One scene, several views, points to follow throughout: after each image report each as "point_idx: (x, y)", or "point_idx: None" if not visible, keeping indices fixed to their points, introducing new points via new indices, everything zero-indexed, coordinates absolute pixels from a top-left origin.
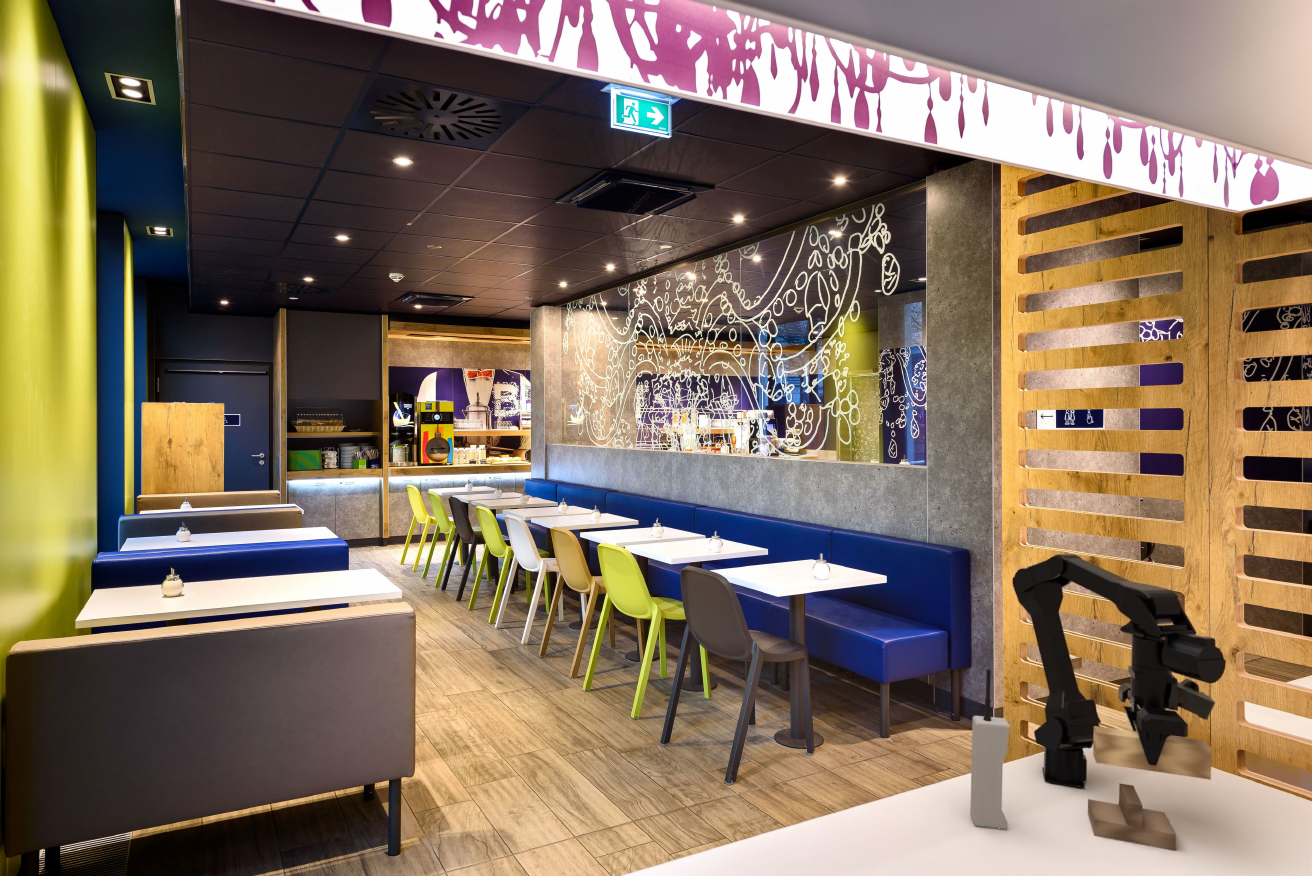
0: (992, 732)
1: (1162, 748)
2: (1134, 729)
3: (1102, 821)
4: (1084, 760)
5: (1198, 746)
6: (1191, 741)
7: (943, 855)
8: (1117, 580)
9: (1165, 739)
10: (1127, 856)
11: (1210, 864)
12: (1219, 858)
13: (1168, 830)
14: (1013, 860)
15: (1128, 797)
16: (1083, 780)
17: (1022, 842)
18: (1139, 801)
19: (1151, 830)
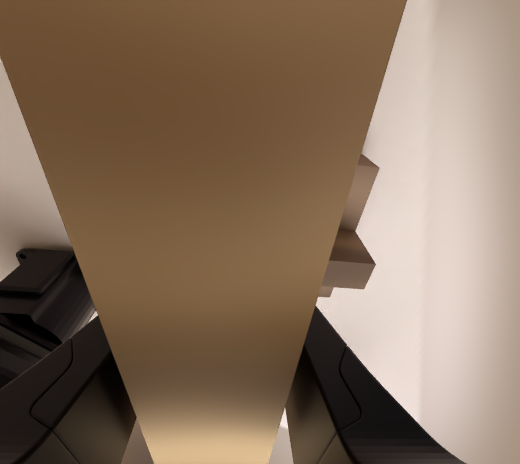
0: None
1: (345, 343)
2: (126, 442)
3: (333, 287)
4: (42, 292)
5: (383, 77)
6: (166, 107)
7: (399, 399)
8: None
9: (416, 426)
10: (393, 247)
11: (424, 95)
12: (393, 53)
13: (359, 178)
14: (409, 359)
15: (328, 281)
16: (74, 258)
17: (361, 349)
18: (351, 265)
19: (360, 214)
